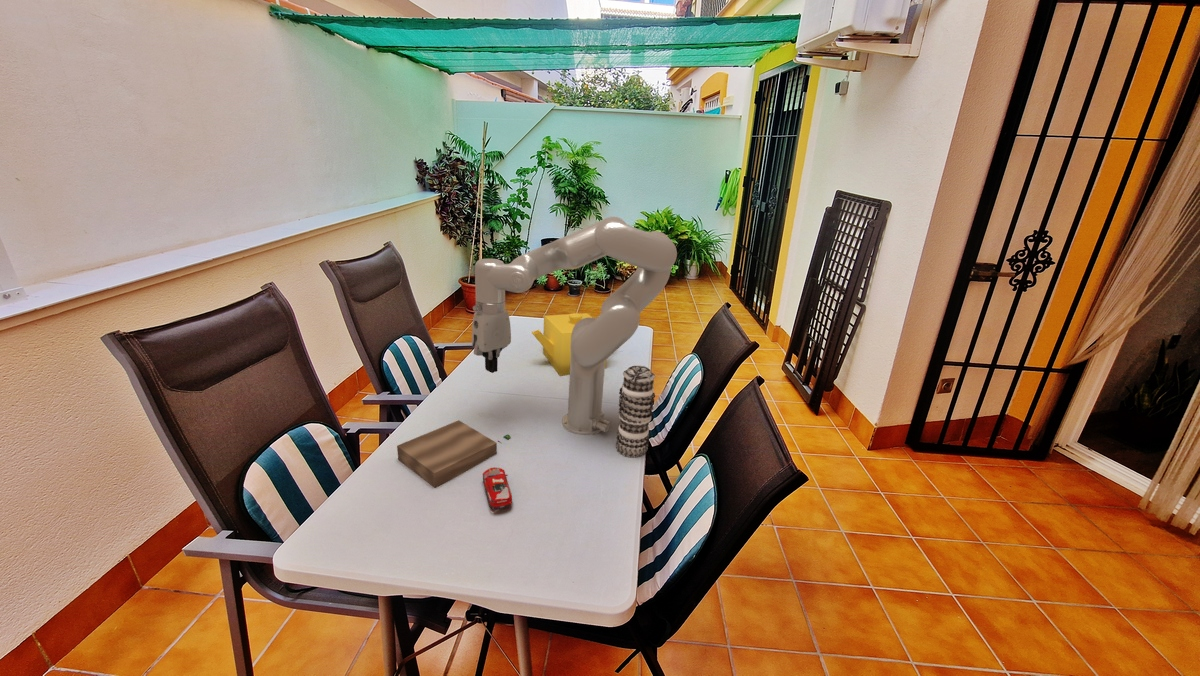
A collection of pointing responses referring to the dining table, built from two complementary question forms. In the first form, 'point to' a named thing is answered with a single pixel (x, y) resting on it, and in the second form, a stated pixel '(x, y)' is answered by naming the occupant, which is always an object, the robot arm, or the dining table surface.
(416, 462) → the block
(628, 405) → the decorative candle
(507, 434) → the puzzle cube
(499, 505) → the race car
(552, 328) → the square teapot
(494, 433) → the dining table surface
